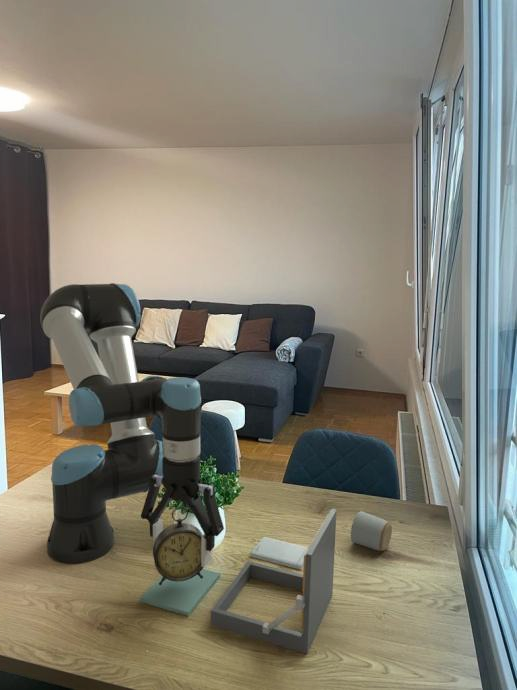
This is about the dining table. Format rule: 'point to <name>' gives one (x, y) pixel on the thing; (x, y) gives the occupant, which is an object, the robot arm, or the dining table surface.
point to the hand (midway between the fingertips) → (181, 557)
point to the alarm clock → (178, 551)
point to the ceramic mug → (371, 531)
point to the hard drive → (280, 552)
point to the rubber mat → (181, 592)
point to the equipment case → (311, 582)
